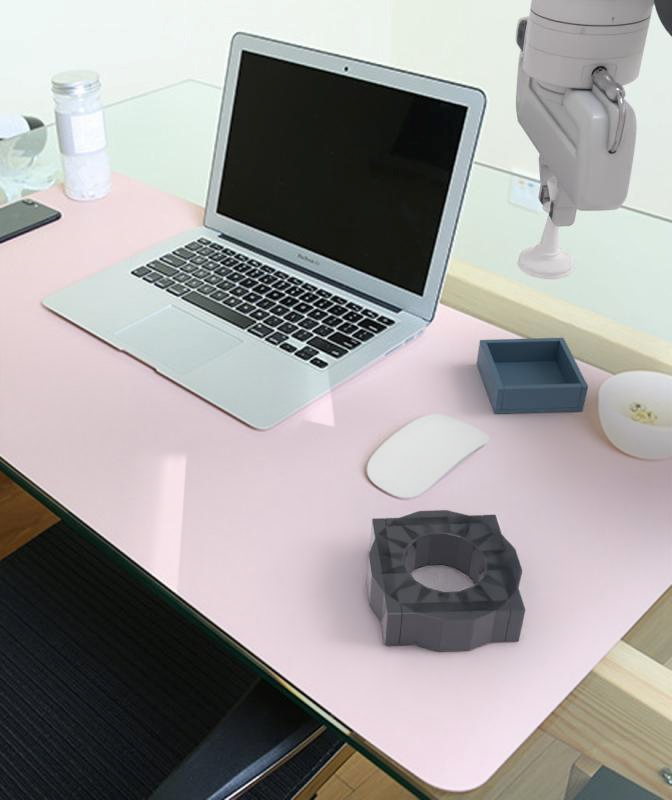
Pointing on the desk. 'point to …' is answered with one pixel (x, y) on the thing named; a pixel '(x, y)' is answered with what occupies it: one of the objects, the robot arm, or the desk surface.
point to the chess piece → (547, 249)
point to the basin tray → (531, 376)
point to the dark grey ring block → (435, 610)
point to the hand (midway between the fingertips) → (555, 213)
